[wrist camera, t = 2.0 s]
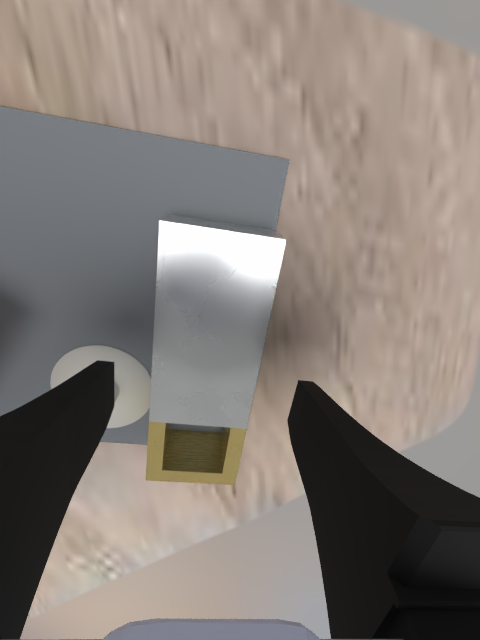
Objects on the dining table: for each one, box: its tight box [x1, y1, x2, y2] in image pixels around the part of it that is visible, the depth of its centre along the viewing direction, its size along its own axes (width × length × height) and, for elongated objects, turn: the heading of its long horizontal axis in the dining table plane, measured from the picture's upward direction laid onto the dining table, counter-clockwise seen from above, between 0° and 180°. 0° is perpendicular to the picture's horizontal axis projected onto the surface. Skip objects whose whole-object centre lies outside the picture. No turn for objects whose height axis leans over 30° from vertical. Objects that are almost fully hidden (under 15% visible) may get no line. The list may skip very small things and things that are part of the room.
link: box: [146, 214, 286, 485], centre depth 16 cm, size 13×5×3 cm, turn 171°
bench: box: [0, 106, 289, 445], centre depth 15 cm, size 17×17×3 cm
